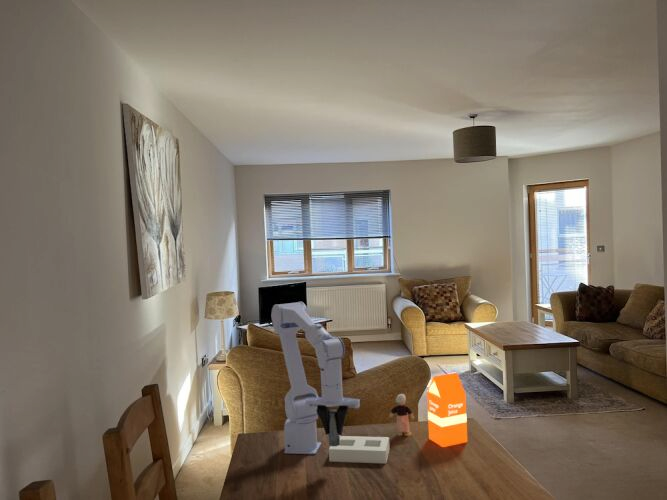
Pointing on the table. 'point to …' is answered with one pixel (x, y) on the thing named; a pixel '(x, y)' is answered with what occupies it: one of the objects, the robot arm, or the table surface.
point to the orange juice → (447, 410)
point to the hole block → (360, 449)
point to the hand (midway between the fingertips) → (334, 433)
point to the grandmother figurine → (402, 415)
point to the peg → (333, 428)
